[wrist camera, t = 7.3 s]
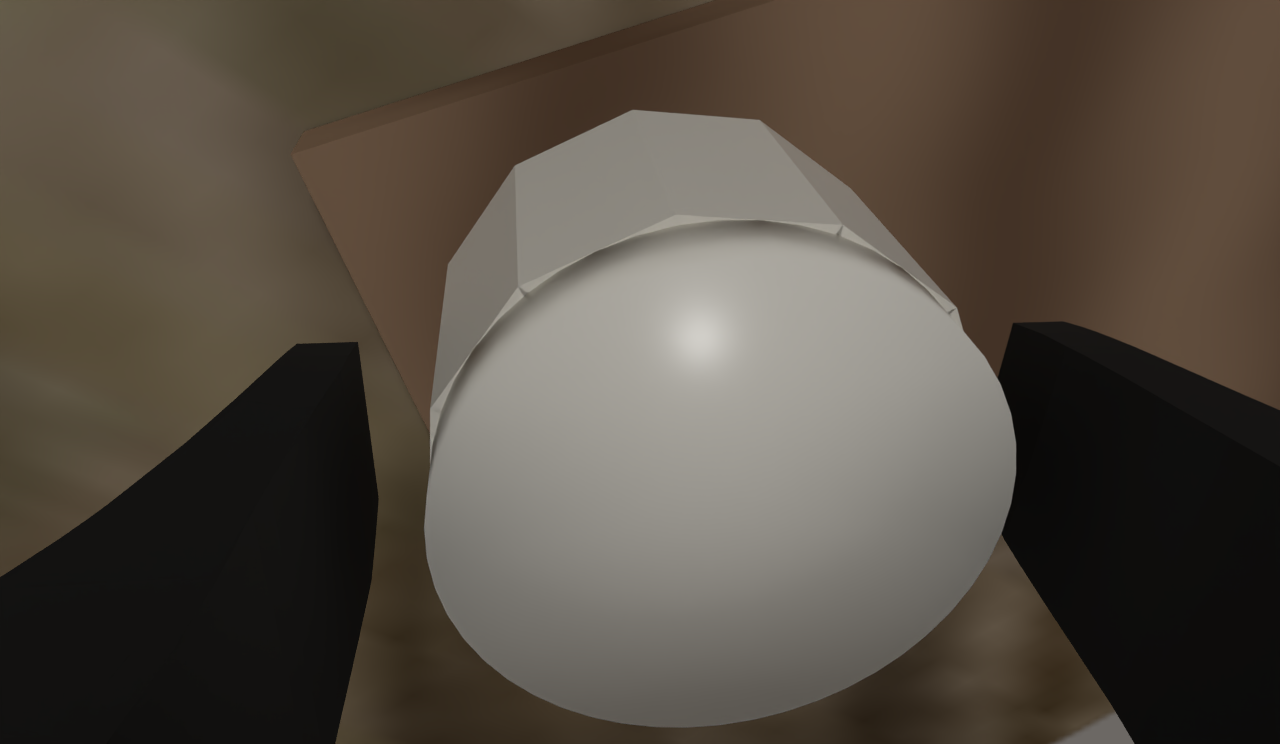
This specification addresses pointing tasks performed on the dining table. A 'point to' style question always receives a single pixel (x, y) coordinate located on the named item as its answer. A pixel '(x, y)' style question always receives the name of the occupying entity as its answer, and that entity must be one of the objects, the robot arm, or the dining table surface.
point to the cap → (701, 430)
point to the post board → (896, 158)
